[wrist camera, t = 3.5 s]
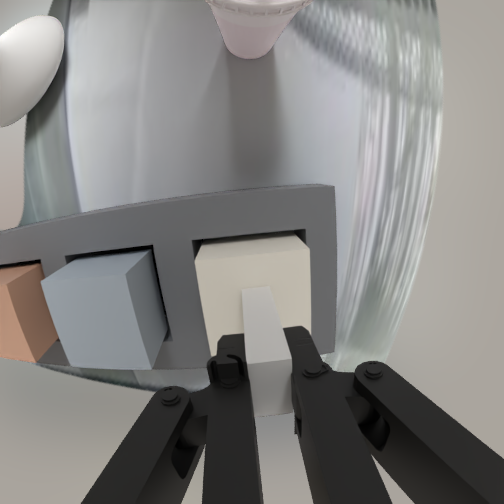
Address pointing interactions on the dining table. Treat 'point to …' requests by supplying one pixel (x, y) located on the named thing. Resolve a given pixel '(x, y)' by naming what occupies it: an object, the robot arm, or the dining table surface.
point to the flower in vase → (28, 64)
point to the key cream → (253, 280)
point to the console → (191, 253)
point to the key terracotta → (24, 314)
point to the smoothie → (253, 23)
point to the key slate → (108, 310)
